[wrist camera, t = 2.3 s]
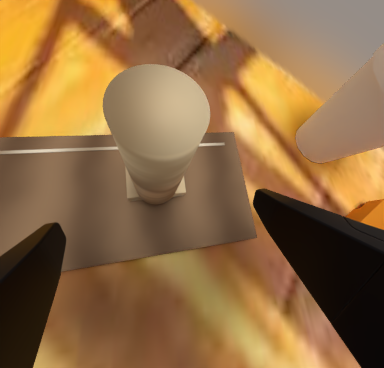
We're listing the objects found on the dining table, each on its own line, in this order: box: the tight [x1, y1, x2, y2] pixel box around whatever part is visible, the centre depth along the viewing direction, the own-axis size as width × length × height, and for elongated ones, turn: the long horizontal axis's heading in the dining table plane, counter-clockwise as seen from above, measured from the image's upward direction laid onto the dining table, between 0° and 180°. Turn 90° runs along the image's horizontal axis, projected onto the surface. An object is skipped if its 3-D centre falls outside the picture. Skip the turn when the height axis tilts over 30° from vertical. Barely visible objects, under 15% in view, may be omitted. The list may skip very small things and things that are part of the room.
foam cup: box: [295, 43, 384, 164], centre depth 20 cm, size 10×9×13 cm
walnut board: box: [0, 132, 257, 272], centre depth 17 cm, size 30×12×2 cm, turn 99°
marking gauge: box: [103, 64, 210, 205], centre depth 13 cm, size 5×10×14 cm, turn 9°
